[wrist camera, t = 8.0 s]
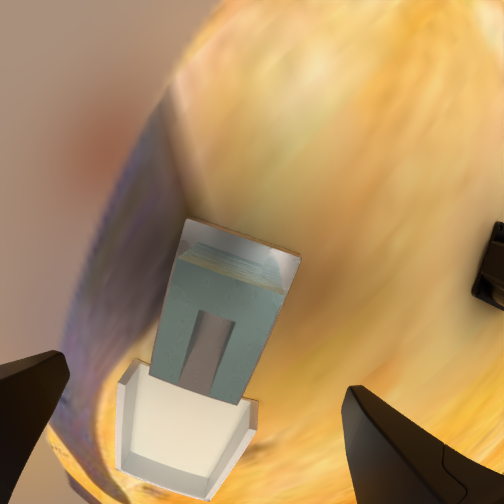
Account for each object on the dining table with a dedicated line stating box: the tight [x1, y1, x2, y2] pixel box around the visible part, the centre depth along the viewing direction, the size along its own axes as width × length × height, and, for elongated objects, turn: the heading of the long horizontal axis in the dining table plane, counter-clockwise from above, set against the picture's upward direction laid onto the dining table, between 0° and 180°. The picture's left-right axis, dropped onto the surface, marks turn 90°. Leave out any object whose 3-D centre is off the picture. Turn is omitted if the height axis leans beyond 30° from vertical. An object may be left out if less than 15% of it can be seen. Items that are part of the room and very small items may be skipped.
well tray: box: [115, 359, 258, 502], centre depth 20 cm, size 10×15×3 cm
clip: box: [150, 242, 284, 404], centre depth 15 cm, size 5×7×4 cm
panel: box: [148, 216, 302, 406], centre depth 18 cm, size 7×12×1 cm, turn 161°
